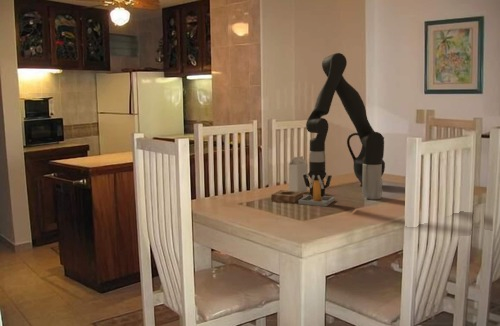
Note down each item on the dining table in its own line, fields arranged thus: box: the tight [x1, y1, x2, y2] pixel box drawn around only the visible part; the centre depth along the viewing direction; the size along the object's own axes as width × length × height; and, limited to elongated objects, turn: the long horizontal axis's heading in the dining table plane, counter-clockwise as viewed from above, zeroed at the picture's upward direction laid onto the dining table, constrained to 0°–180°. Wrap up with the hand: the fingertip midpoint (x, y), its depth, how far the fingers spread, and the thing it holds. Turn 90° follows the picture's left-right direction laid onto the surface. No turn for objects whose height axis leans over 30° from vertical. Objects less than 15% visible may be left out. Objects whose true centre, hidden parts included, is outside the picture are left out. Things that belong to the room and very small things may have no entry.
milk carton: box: [288, 155, 308, 193], centre depth 268 cm, size 7×7×19 cm
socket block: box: [270, 189, 304, 204], centre depth 247 cm, size 12×12×4 cm
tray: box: [297, 194, 336, 207], centre depth 241 cm, size 14×14×2 cm
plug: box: [313, 180, 322, 202], centre depth 240 cm, size 4×4×10 cm
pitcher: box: [346, 132, 386, 188], centre depth 281 cm, size 17×21×30 cm
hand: (317, 195), depth 240 cm, fingers closed on plug, 4 cm apart
